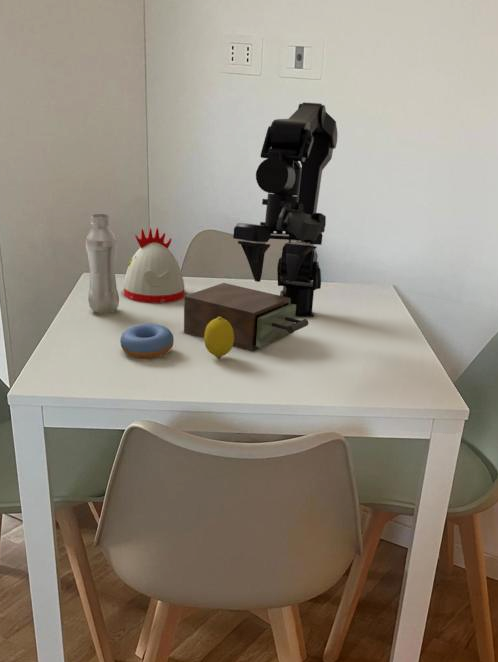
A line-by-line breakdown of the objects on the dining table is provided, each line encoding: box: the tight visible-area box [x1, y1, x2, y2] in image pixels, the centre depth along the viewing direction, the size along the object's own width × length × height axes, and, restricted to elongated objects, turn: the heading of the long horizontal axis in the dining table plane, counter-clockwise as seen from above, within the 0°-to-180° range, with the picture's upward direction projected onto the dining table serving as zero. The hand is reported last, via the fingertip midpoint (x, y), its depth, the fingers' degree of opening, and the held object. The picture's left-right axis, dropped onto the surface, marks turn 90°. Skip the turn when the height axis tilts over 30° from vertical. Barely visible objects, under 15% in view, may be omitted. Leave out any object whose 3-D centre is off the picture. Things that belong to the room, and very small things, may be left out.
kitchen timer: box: [123, 227, 186, 304], centre depth 183 cm, size 14×14×15 cm
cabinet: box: [183, 282, 291, 352], centre depth 162 cm, size 17×14×8 cm
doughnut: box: [119, 323, 175, 359], centre depth 151 cm, size 10×10×5 cm
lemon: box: [203, 317, 234, 359], centre depth 149 cm, size 6×6×8 cm
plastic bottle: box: [85, 213, 120, 314], centre depth 168 cm, size 6×7×20 cm
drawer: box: [254, 304, 309, 349], centre depth 160 cm, size 20×12×6 cm, turn 56°
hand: (274, 281), depth 153 cm, fingers open, 9 cm apart
